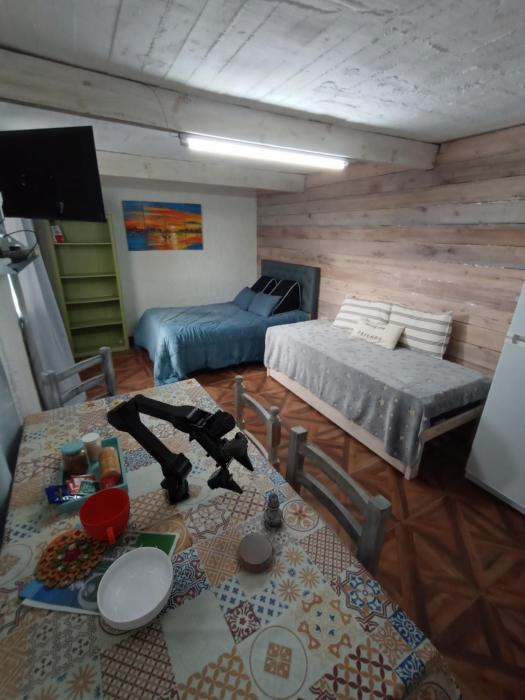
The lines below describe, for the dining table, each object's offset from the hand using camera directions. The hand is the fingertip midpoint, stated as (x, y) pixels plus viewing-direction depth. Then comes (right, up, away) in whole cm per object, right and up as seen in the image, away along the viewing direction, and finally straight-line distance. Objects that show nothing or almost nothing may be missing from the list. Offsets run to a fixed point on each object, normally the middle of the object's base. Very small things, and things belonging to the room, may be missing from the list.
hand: (248, 481), depth 94 cm
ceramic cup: (-40, -15, -2) cm, 42 cm away
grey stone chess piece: (+7, -14, +2) cm, 16 cm away
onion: (-65, +9, +59) cm, 89 cm away
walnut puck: (+2, -17, -7) cm, 19 cm away
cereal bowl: (-25, -21, -17) cm, 37 cm away
